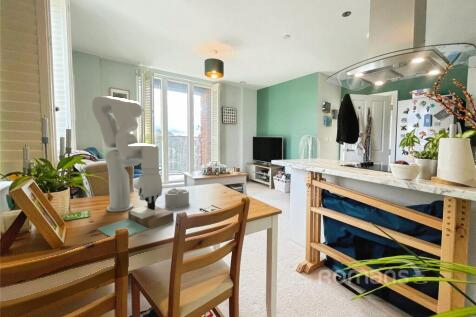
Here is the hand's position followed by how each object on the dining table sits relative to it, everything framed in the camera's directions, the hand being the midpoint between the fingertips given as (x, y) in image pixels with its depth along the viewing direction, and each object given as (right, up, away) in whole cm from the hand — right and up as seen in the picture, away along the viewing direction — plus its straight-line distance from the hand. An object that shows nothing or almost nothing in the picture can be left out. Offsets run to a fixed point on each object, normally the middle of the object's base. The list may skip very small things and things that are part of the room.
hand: (151, 209), depth 101 cm
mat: (-8, -6, -10) cm, 14 cm away
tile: (-3, -1, -4) cm, 5 cm away
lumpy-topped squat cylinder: (+5, -2, +24) cm, 24 cm away
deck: (0, -5, 0) cm, 5 cm away
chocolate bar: (+29, -5, +12) cm, 32 cm away
